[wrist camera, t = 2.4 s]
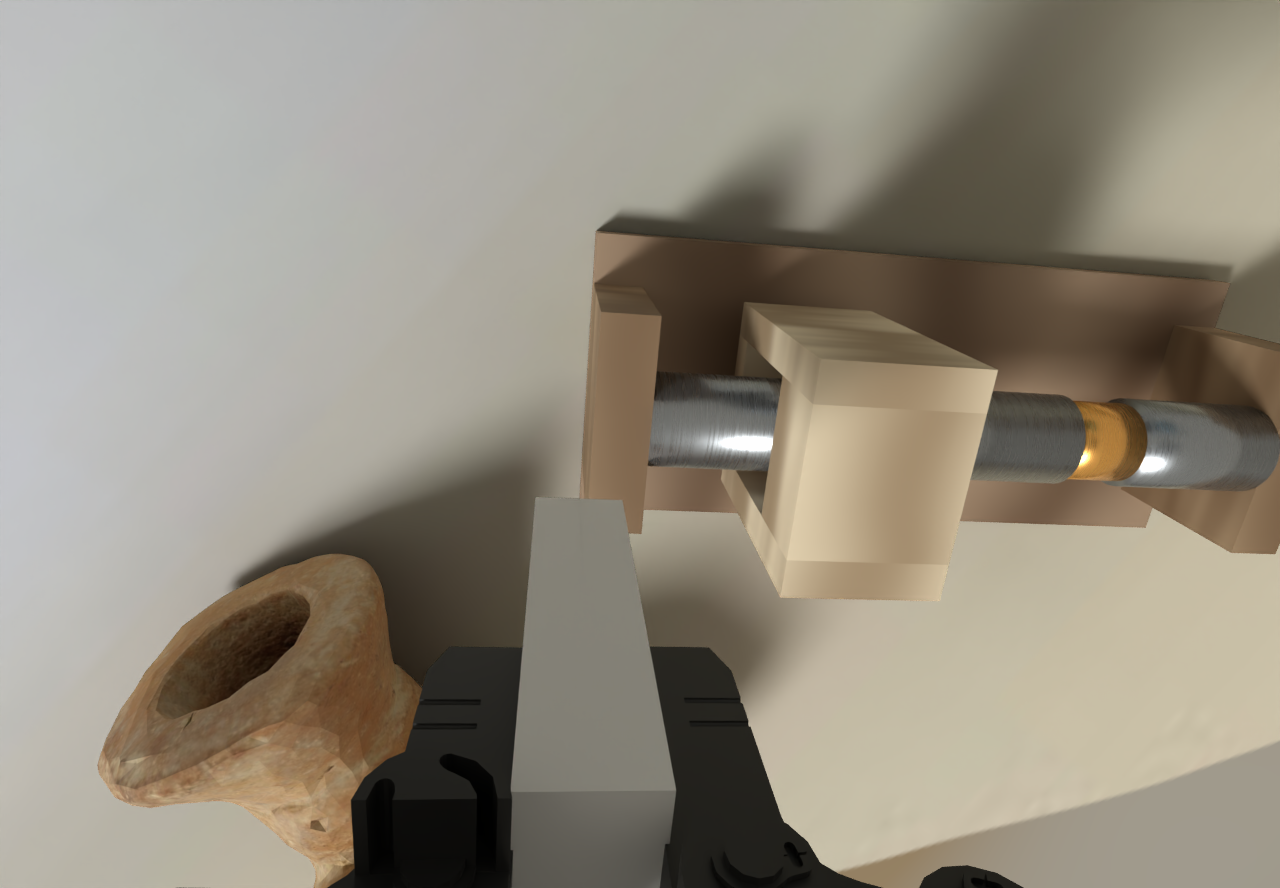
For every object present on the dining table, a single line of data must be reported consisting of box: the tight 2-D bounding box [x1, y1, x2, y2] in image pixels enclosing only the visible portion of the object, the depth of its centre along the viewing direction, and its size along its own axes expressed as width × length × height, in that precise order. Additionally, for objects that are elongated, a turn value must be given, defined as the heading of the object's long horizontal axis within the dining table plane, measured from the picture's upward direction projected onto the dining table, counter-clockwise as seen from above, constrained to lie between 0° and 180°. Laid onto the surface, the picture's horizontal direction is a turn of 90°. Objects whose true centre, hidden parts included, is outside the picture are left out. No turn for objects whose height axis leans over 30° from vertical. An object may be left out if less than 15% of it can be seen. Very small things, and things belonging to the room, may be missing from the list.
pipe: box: [98, 554, 422, 888], centre depth 24 cm, size 9×16×10 cm, turn 32°
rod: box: [648, 371, 1280, 492], centre depth 21 cm, size 18×3×3 cm, turn 85°
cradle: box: [580, 231, 1280, 554], centre depth 23 cm, size 21×9×6 cm, turn 85°
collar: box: [721, 302, 998, 601], centre depth 20 cm, size 4×6×7 cm
